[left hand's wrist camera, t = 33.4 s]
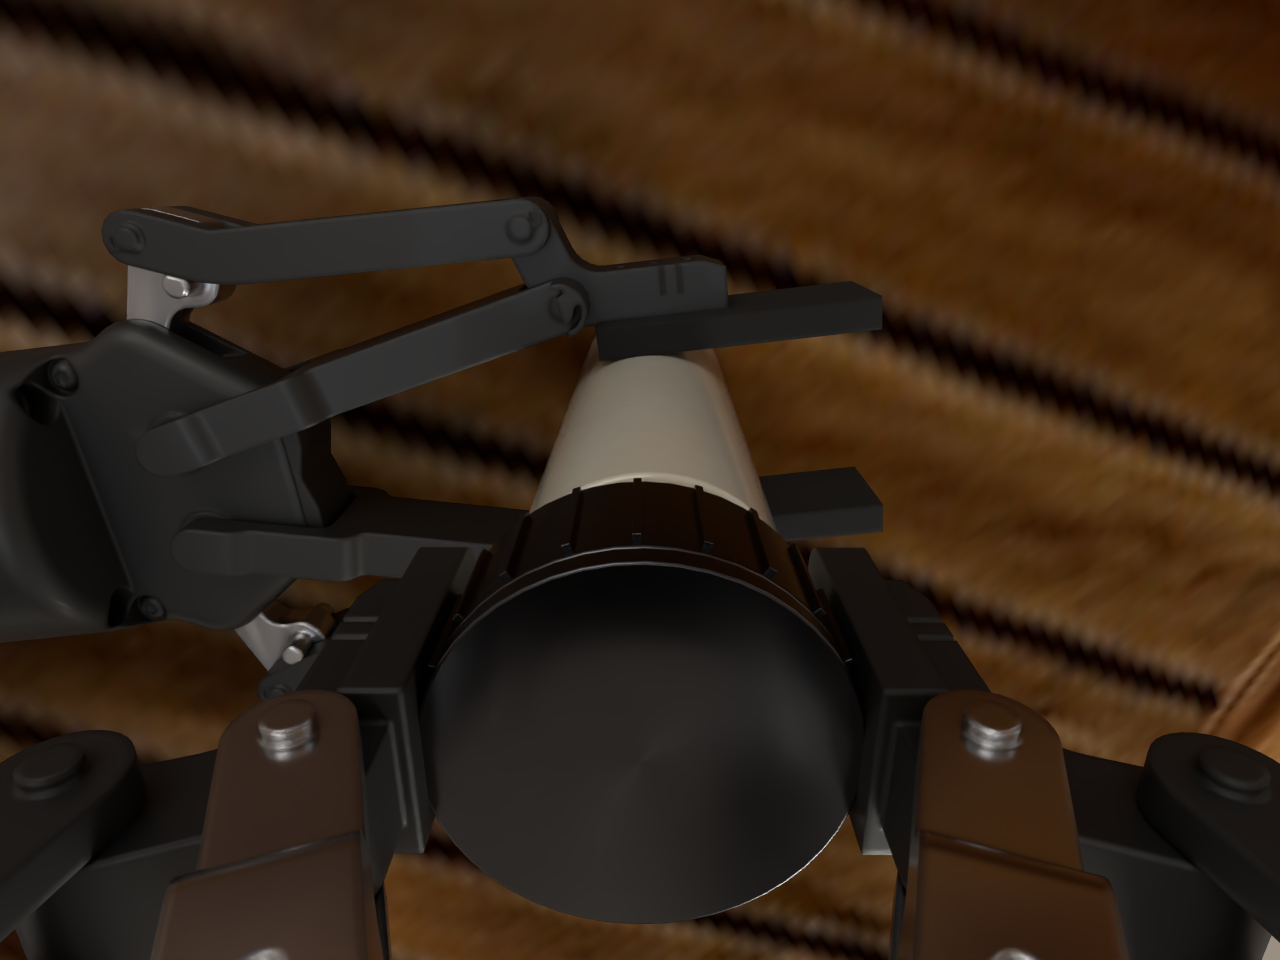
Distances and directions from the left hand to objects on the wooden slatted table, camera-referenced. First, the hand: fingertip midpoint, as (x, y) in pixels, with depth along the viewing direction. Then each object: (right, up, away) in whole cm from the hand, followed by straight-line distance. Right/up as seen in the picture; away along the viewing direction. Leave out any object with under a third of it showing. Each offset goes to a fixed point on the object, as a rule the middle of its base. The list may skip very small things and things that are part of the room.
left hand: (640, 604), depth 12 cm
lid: (0, -1, -3) cm, 3 cm away
